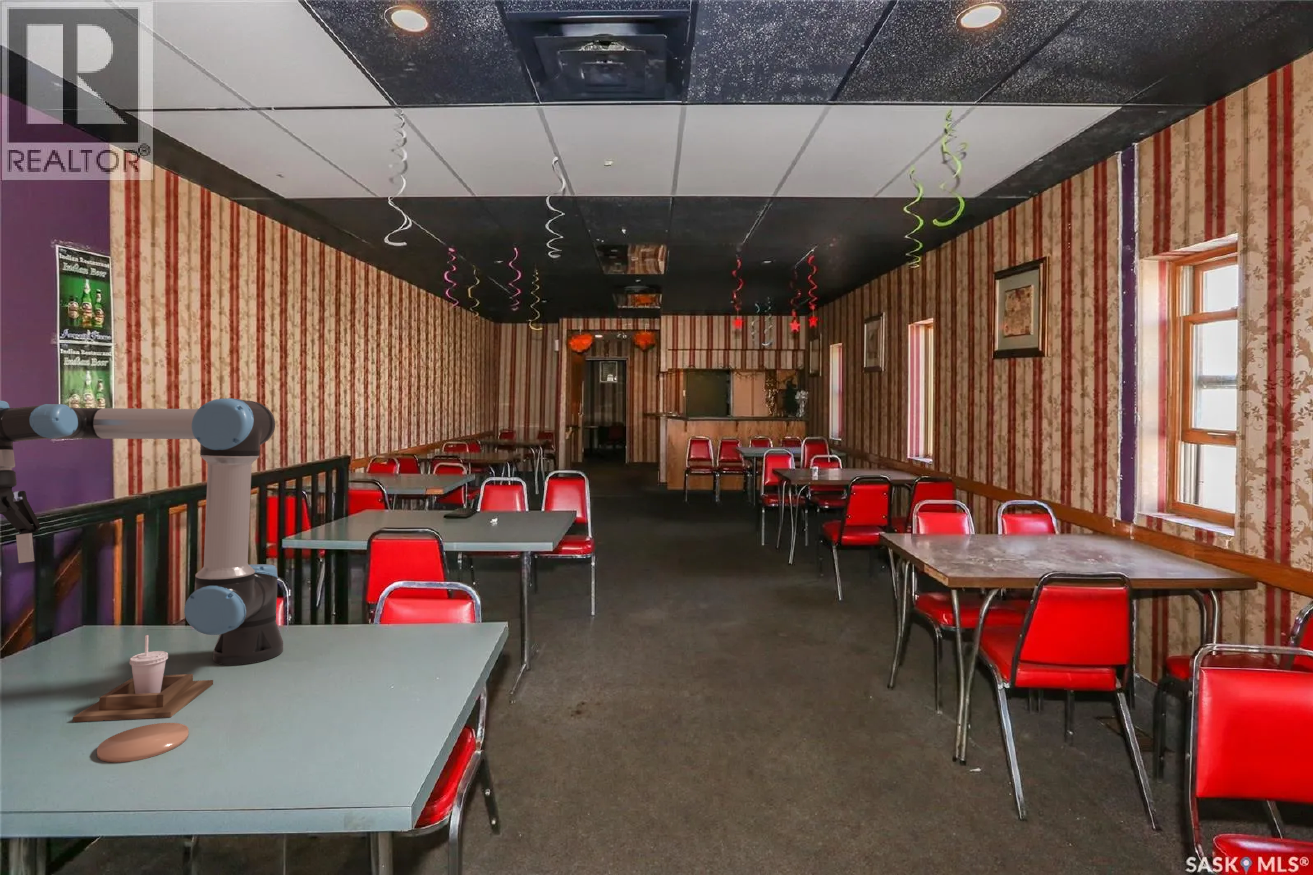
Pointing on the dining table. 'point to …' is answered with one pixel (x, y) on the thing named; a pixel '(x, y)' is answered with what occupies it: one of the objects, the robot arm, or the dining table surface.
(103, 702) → the cup holder
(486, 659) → the dining table surface
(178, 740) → the coaster
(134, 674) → the smoothie
